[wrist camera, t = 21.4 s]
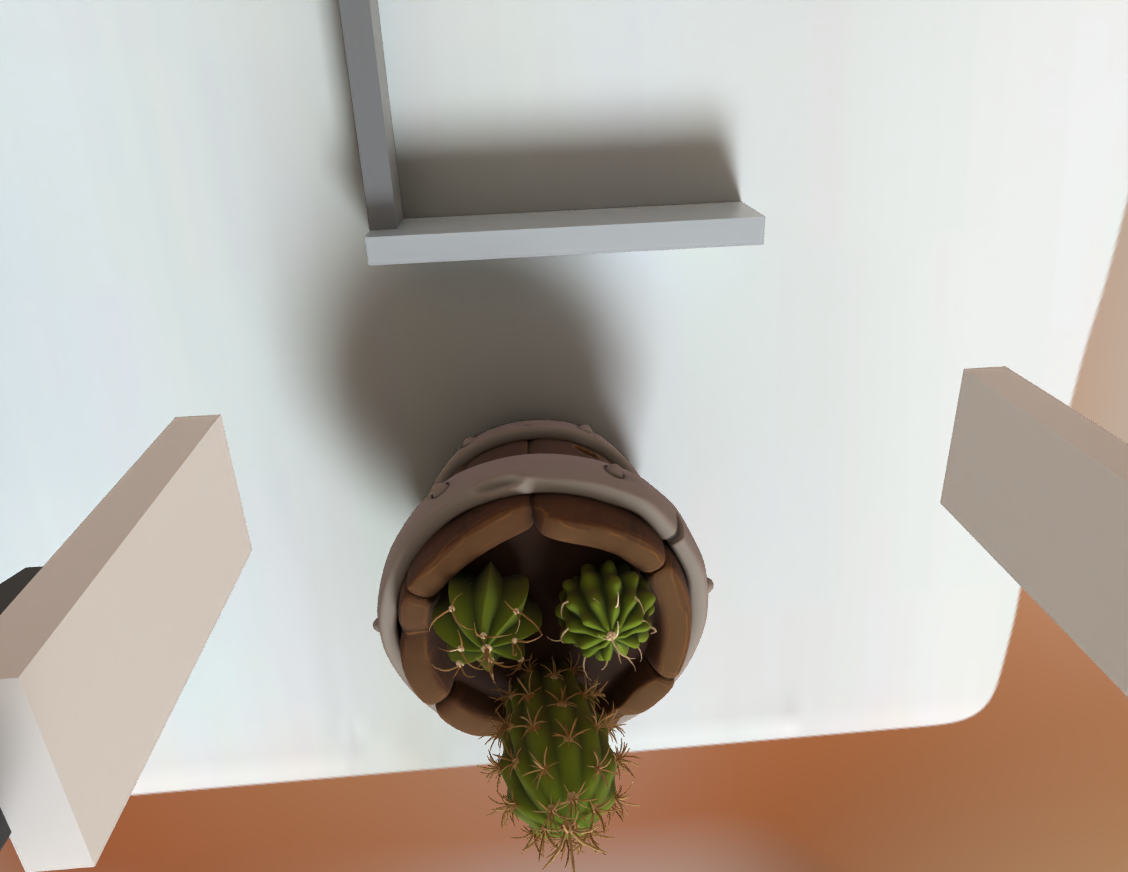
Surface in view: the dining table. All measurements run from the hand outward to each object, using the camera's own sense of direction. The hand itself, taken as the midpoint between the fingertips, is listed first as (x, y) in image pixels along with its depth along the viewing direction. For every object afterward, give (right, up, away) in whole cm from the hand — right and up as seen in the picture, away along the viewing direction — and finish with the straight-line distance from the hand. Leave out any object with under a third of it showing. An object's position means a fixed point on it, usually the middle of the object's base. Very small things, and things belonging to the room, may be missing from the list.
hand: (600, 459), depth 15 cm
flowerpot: (-2, -3, +31) cm, 31 cm away
